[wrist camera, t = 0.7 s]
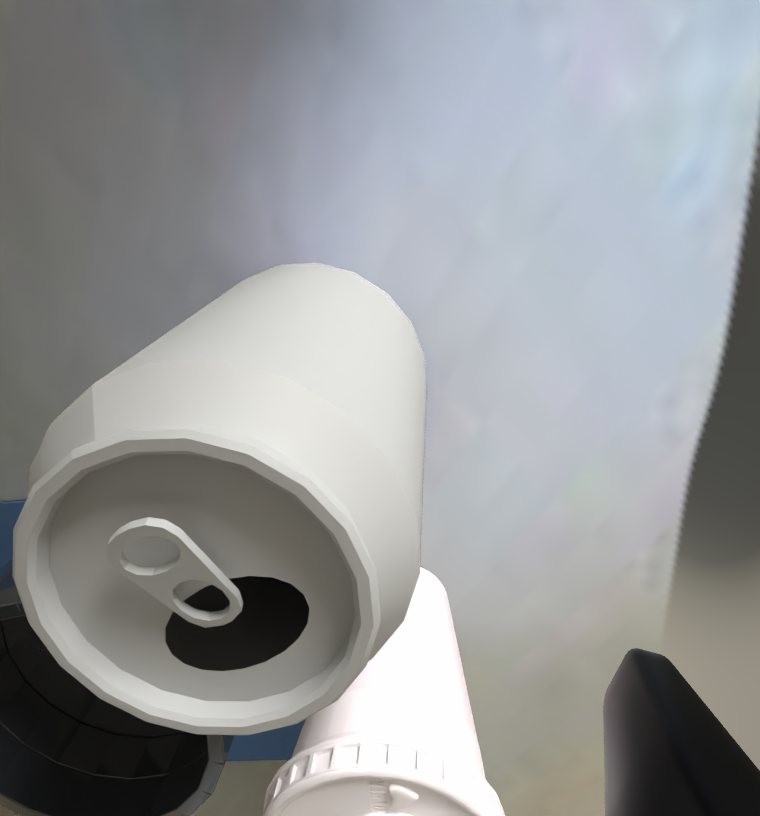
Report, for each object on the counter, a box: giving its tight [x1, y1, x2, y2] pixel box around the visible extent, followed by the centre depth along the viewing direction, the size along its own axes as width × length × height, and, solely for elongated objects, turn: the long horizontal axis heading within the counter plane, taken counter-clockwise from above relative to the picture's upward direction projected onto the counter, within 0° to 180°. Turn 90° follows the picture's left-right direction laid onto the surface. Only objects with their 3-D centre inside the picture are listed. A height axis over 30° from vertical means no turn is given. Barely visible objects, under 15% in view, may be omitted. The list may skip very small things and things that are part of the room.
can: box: [12, 263, 427, 735], centre depth 16 cm, size 8×8×12 cm
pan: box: [0, 559, 234, 816], centre depth 25 cm, size 11×11×4 cm
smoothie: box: [263, 567, 505, 816], centre depth 18 cm, size 6×6×14 cm
